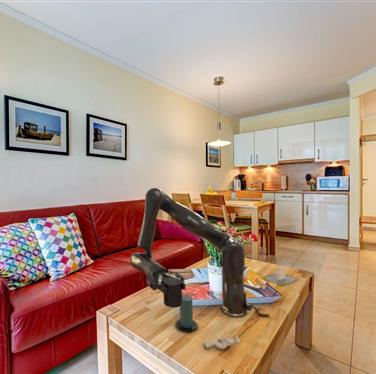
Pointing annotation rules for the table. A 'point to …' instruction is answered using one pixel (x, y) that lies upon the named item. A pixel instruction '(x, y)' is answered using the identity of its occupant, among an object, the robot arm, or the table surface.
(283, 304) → the table surface
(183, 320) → the green post with base
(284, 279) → the architectural model
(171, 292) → the black cylinder
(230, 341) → the soldier figure
